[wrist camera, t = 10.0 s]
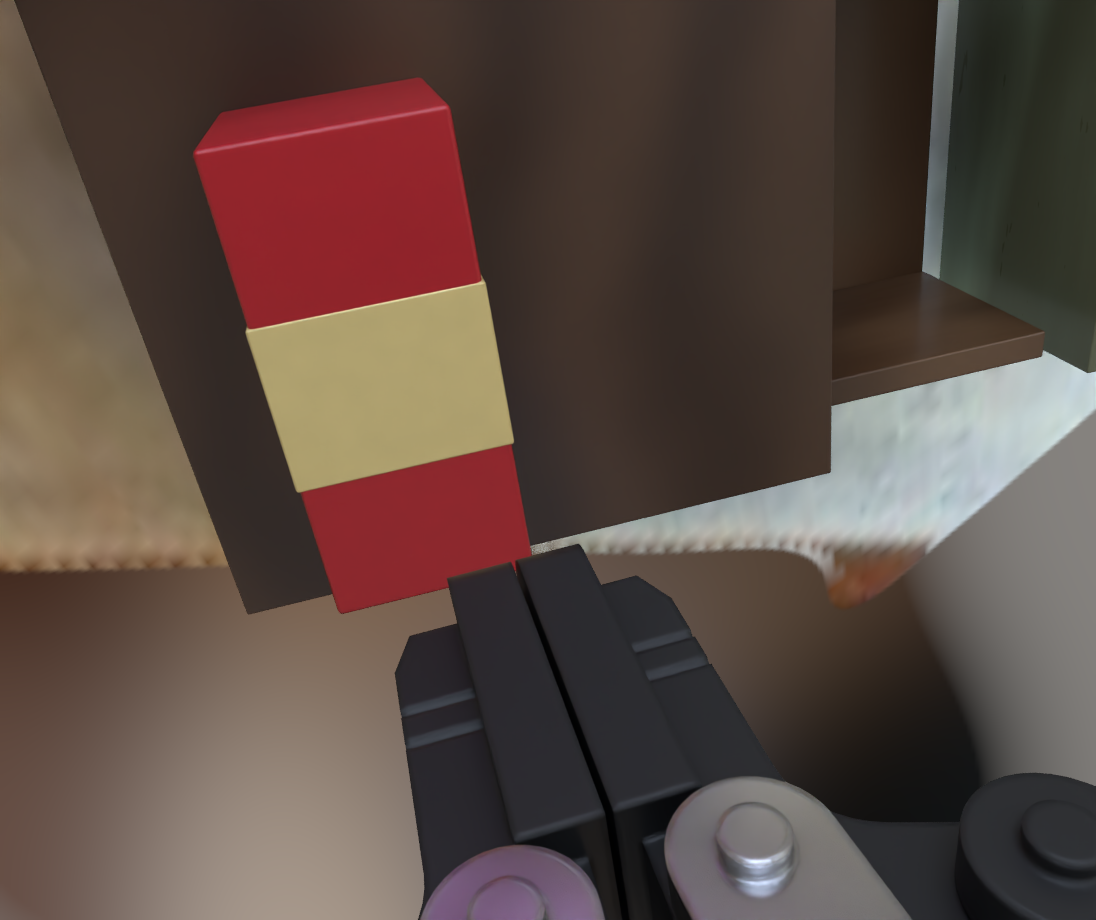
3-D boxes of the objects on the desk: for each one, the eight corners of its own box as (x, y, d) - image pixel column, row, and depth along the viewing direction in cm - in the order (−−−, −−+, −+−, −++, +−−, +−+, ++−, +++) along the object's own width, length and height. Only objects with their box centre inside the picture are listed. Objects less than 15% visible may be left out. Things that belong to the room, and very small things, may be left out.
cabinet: (678, -106, 26) (838, -141, 18) (706, 351, 33) (831, 472, 25) (111, -16, 24) (9, -10, 16) (265, 450, 31) (247, 615, 23)
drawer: (1179, -163, 28) (1442, -204, 21) (1111, 257, 34) (1297, 323, 27) (518, -56, 25) (587, -65, 19) (576, 376, 31) (643, 480, 25)
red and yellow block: (333, 504, 22) (336, 618, 18) (215, 112, 18) (186, 151, 14) (499, 465, 23) (537, 568, 19) (424, 74, 18) (453, 102, 14)
